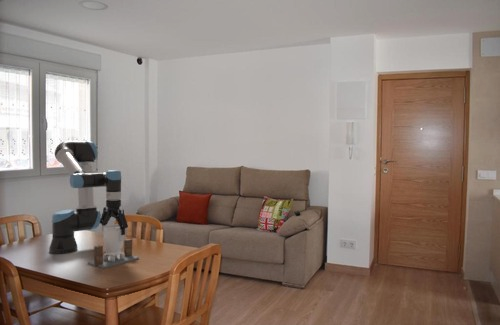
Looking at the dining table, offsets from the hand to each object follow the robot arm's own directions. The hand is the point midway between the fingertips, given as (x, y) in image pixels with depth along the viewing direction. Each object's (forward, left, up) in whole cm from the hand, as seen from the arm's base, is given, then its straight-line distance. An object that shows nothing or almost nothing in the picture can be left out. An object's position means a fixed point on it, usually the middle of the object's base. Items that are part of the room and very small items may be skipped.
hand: (113, 239), depth 221 cm
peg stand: (0, 0, -12) cm, 12 cm away
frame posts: (0, 0, -12) cm, 12 cm away
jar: (0, 0, -8) cm, 8 cm away
